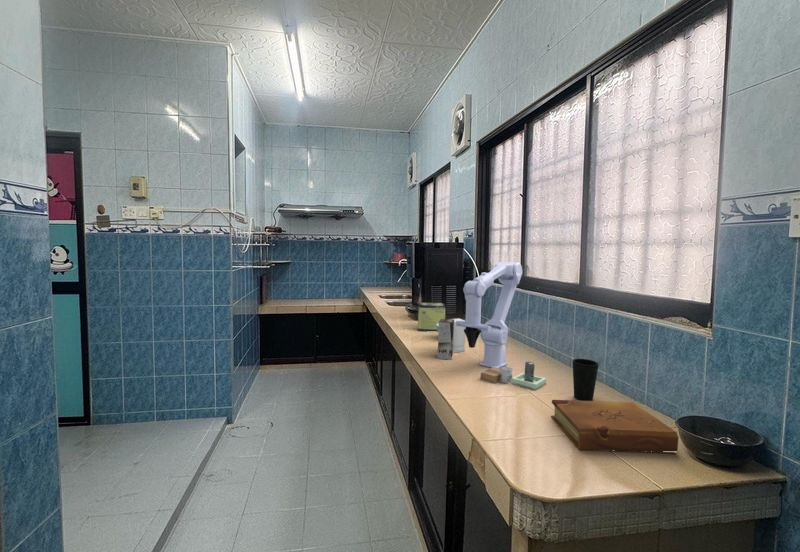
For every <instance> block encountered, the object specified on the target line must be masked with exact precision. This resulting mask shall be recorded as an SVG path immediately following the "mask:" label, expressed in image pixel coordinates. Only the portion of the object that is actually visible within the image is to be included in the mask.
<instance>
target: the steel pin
mask: <svg viewBox="0 0 800 552" xmlns="http://www.w3.org/2000/svg"><path fill="white" fill-rule="evenodd" d="M524 364H525V365H524V366H525V367H524V373H525V374H524V381H528V382H532V383H533V381H534V376H535V367H536V365H535V364H536V363H535V362H532V361H525V363H524Z"/></svg>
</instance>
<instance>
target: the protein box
mask: <svg viewBox="0 0 800 552" xmlns="http://www.w3.org/2000/svg"><path fill="white" fill-rule="evenodd" d="M440 319H446V304H445V303H444V302H443V303H442V302H418V313H417V331H418V332H427V331H438V330H437V327H436V324H438V323H439V321H440Z"/></svg>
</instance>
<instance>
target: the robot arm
mask: <svg viewBox="0 0 800 552" xmlns="http://www.w3.org/2000/svg"><path fill="white" fill-rule="evenodd" d="M522 275H523V267H522V265H521V262H509V261H508V262H507V261H498V262H496V263H495V266H494V267H493V269H491V270H490V271H489V272H481V274H480V275H478V276H477V277H475V278H474V279H473V280H468V281H466V282H465V283H464V286H463V288H462V289H463V293H464V299H465V319H464V320H465V321H456V326H461V327H465V329H464V332H465V338H466V339H467V342H468V347H469V348H470V349H472V348H475V346H476V343H477V340H478V339H479V336H480V339H481V341H482V342H483V344H484V350H483V352H484V354H483V361H482V362H480V363H479V365H480V366H485V367H487V368H488V367H489V368H493V367H494V368H498V369H500V368H501V367H504V366H506V365H508V362H506V358H507V357H506V355H507V347H506V346H505V345H506V343H507V341H508V336H509V335H508V334H509V327H508V326H507V325H506V323H505V322H506V319H507V316H508V313H509V310H510V307H511V305H512V304H511V303H512V300H513V298H514V295H515V293H516V289H517V286H518V285H519V284H520V281H521V278H522ZM497 279H498V281H499V283H500V284H502V289H501V291H500V293H499V294H500V295H499V297H498V300H497V302H496V306H495V309H494V312H493V315H492V318H491V319H489V320H487V321H486V322H485V323H481V321H482V319H481V317H482V312H481V311H482V297H484V295H485V293H486V291H487V289H488V288H490V287H492V286H493V285H494V281H495V280H497Z"/></svg>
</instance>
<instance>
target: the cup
mask: <svg viewBox="0 0 800 552" xmlns="http://www.w3.org/2000/svg"><path fill="white" fill-rule="evenodd" d="M598 371H599V363H598V362H597V361H595V360H593V359H587V358H586V359H585V358H573V359H572V380H573V385H572V386H573V397H574V398H575V400H577V401H594V395H595V389H596V383H597V377H598Z"/></svg>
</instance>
